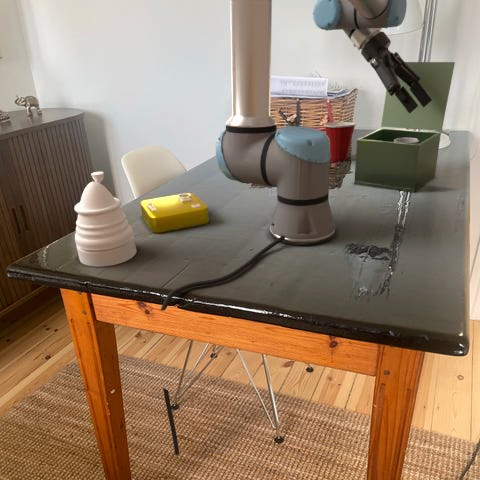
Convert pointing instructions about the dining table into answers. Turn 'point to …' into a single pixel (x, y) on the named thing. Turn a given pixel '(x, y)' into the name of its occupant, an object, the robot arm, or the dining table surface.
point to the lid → (425, 118)
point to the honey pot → (102, 227)
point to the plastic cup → (339, 139)
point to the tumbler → (407, 140)
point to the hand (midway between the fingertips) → (421, 106)
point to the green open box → (396, 159)
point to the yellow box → (174, 212)
